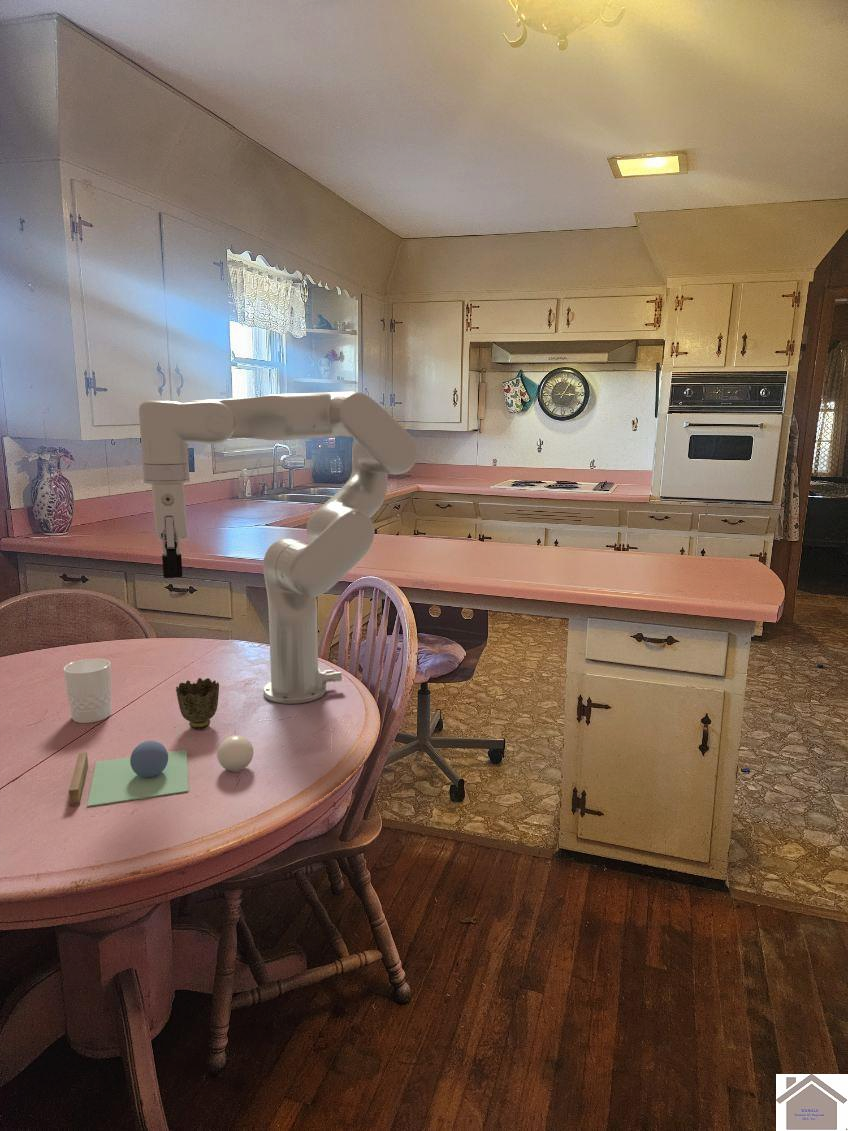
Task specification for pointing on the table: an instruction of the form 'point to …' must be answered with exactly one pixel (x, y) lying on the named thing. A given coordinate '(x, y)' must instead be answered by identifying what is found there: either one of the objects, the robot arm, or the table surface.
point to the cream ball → (235, 753)
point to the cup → (198, 702)
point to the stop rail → (78, 779)
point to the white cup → (89, 689)
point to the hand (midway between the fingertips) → (173, 576)
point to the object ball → (149, 759)
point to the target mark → (136, 780)
